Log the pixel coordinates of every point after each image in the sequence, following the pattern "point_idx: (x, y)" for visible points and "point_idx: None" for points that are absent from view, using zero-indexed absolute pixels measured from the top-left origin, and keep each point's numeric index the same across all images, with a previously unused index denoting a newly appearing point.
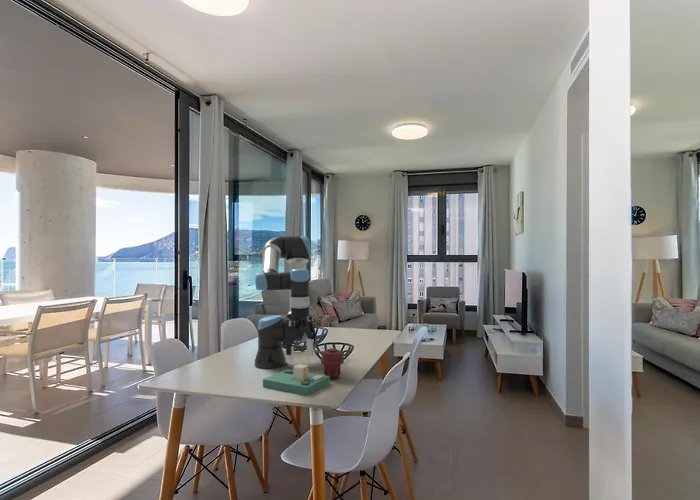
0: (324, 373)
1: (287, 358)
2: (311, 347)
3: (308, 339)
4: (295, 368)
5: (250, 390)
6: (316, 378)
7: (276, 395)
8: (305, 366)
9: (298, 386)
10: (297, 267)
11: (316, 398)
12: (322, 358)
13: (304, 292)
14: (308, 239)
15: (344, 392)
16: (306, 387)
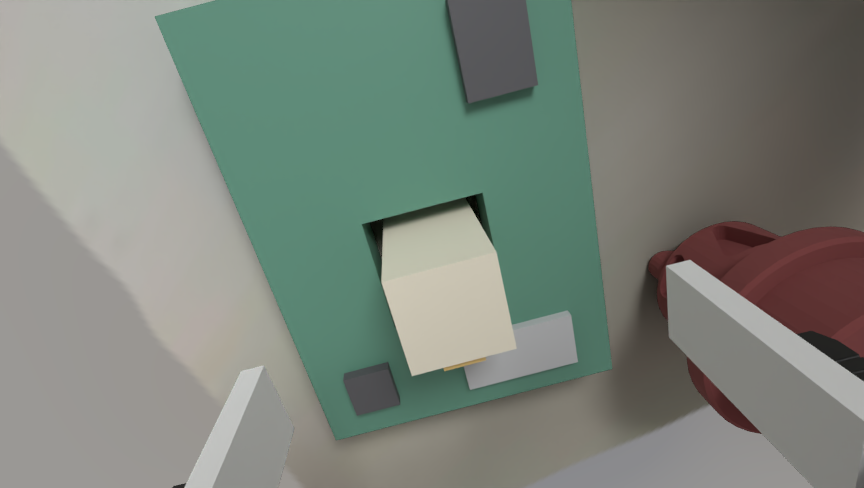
0: (679, 254)
1: (228, 417)
2: (733, 398)
3: (853, 456)
4: (389, 302)
5: (46, 23)
6: (495, 372)
7: (185, 277)
8: (474, 355)
9: (312, 380)
10: None
11: (351, 460)
12: (792, 270)
13: None
14: None
15: (518, 485)
16: (334, 434)
